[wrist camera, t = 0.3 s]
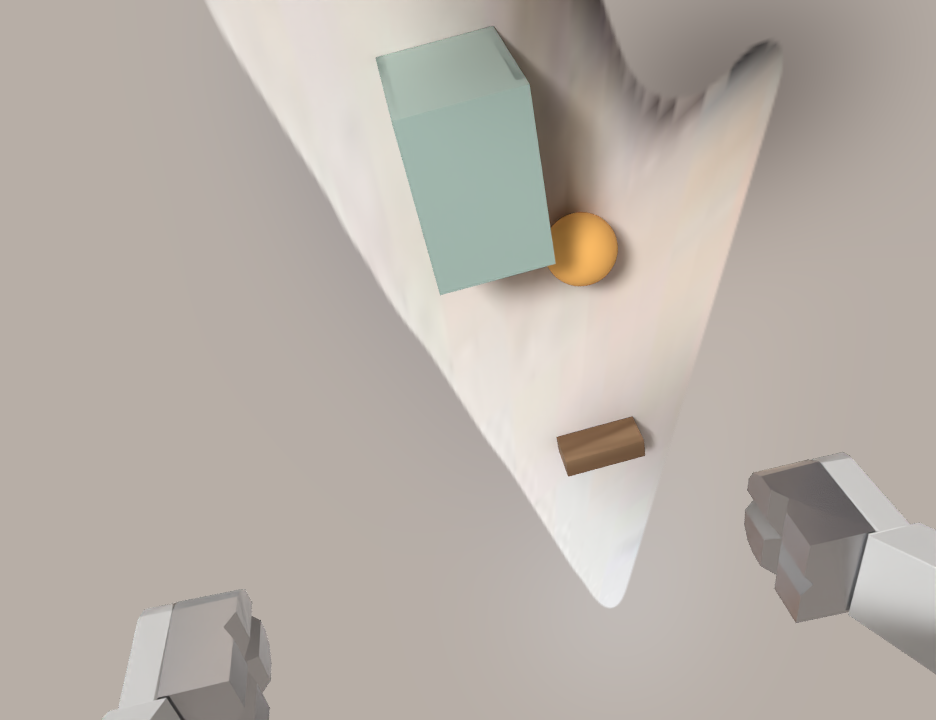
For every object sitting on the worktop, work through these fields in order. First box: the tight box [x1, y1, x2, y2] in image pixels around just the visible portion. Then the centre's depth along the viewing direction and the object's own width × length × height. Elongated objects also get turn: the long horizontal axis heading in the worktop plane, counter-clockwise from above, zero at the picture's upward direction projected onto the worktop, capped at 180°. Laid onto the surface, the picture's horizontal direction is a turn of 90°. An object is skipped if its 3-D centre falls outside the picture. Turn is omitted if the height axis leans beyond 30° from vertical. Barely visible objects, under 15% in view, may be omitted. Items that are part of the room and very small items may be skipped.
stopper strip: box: [557, 417, 645, 476], centre depth 68 cm, size 2×7×3 cm, turn 102°
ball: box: [548, 212, 618, 286], centre depth 52 cm, size 5×5×5 cm
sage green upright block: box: [376, 26, 556, 295], centre depth 45 cm, size 11×7×9 cm, turn 11°
